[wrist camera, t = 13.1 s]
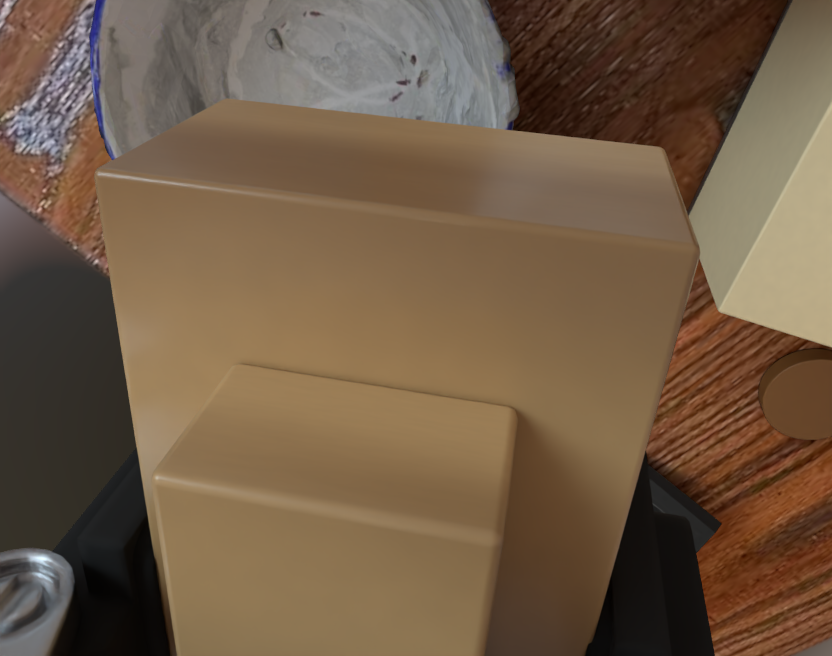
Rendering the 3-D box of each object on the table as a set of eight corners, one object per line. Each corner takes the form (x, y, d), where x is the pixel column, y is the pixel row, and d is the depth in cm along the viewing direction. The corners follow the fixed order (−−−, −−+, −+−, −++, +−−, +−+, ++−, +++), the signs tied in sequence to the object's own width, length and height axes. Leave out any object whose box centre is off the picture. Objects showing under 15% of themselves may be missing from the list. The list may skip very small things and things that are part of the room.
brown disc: (746, 425, 29) (742, 413, 29) (839, 451, 28) (833, 438, 29) (788, 348, 27) (783, 337, 28) (889, 374, 27) (881, 363, 27)
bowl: (193, -206, 23) (108, -231, 18) (587, -42, 23) (591, -31, 19) (136, 179, 29) (64, 224, 25) (441, 302, 29) (419, 367, 25)
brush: (273, 68, 9) (-56, 247, 4) (653, 109, 8) (749, 363, 4) (291, 655, 15) (155, 1012, 10) (522, 703, 14) (494, 1108, 9)
